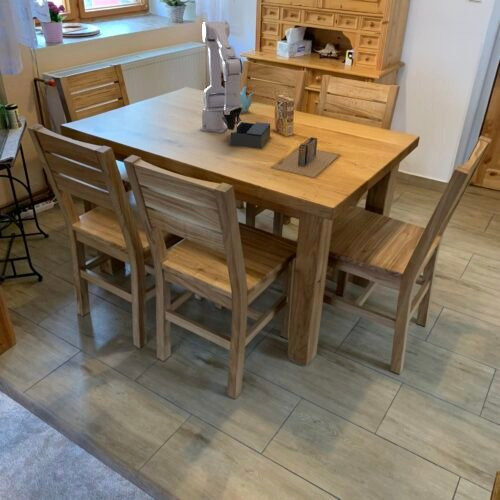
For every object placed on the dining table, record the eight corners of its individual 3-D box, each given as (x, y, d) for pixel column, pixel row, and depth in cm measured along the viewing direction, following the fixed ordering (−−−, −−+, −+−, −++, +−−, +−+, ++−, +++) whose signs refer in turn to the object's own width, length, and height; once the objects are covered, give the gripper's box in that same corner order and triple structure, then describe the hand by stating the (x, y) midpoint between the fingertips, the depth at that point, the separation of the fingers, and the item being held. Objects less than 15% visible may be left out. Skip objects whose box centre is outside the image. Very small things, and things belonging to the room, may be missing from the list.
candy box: (293, 135, 216) (295, 99, 208) (285, 136, 214) (287, 100, 206) (281, 129, 223) (282, 94, 214) (273, 130, 221) (274, 95, 212)
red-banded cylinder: (227, 132, 196) (227, 117, 192) (229, 129, 198) (229, 114, 195) (235, 133, 195) (235, 117, 192) (238, 130, 198) (238, 115, 194)
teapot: (223, 116, 237) (223, 94, 232) (217, 107, 249) (217, 86, 244) (253, 114, 240) (254, 93, 235) (245, 105, 253) (246, 85, 247)
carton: (230, 145, 204) (230, 131, 201) (241, 134, 216) (241, 120, 213) (261, 149, 201) (261, 134, 198) (270, 137, 213) (270, 123, 210)
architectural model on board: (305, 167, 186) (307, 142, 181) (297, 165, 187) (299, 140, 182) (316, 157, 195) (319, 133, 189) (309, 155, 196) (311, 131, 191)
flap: (230, 131, 201) (230, 131, 201) (241, 120, 213) (240, 120, 213) (222, 117, 199) (221, 118, 199) (233, 107, 211) (232, 107, 211)
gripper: (237, 98, 182) (236, 134, 189) (248, 88, 194) (247, 123, 201) (218, 96, 183) (219, 132, 191) (230, 87, 195) (230, 121, 202)
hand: (232, 127), depth 196 cm, fingers closed on red-banded cylinder, 3 cm apart
